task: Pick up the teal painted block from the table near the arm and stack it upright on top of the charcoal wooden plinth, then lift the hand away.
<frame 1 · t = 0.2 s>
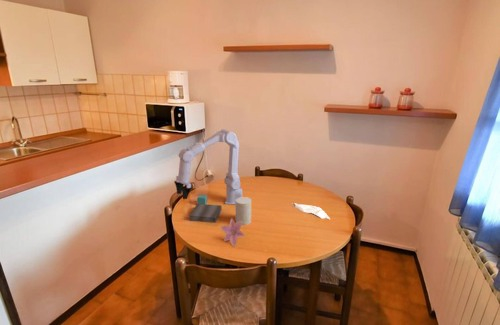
hand: (182, 196, 149), 10 cm above the table, tool pointing down, fingers open, 7 cm apart
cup: (243, 221, 146), on the table
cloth: (311, 211, 158), on the table
plinth: (206, 215, 151), on the table
block: (202, 204, 164), on the table
lily: (233, 240, 129), on the table
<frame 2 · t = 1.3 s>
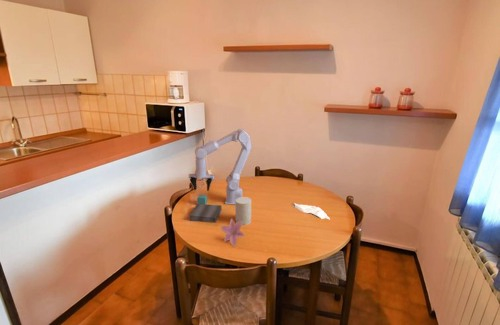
hand: (201, 189, 161), 9 cm above the table, tool pointing down, fingers open, 7 cm apart
nothing on the table moved.
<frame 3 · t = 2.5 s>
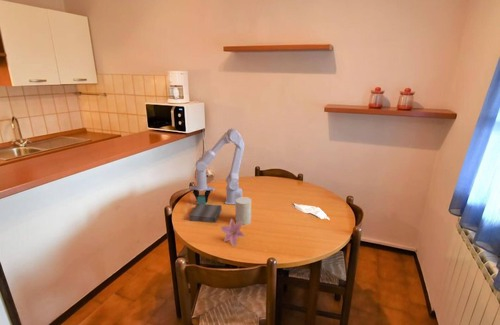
hand: (202, 201, 163), 1 cm above the table, tool pointing down, fingers closed on block, 4 cm apart
block: (202, 203, 164), on the table, touching gripper
everything else where it was.
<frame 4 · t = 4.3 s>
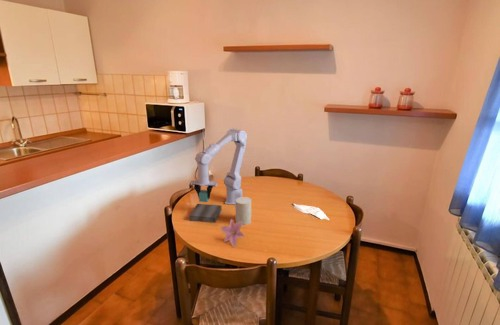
hand: (204, 197, 152), 8 cm above the table, tool pointing down, fingers closed on block, 4 cm apart
block: (204, 200, 153), point 7 cm above the table, touching gripper
when the fingers open (5 cm above the table, at t = 6.1 s): block stays where it is, resting on plinth.
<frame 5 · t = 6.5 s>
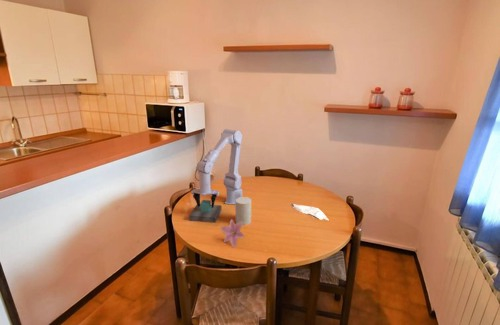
hand: (205, 206, 149), 5 cm above the table, tool pointing down, fingers open, 7 cm apart
block: (205, 210, 150), point 3 cm above the table, touching plinth
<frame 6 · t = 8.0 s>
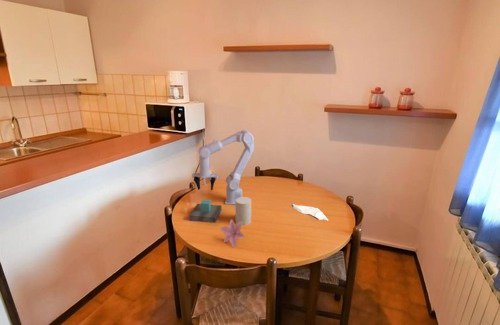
hand: (205, 189, 161), 9 cm above the table, tool pointing down, fingers open, 7 cm apart
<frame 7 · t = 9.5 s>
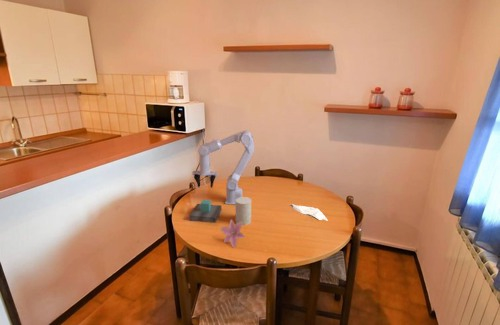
hand: (205, 186, 165), 9 cm above the table, tool pointing down, fingers open, 7 cm apart
at the end: block inside the target area on the plinth (0.1 cm from its centre), point 3.0 cm above the plinth's base; block tilted 0°; the gripper is holding nothing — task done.
